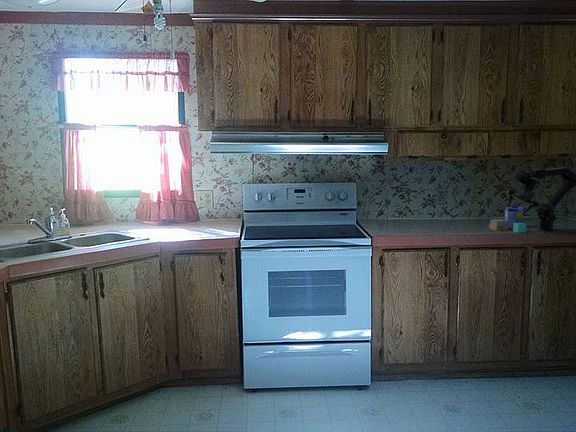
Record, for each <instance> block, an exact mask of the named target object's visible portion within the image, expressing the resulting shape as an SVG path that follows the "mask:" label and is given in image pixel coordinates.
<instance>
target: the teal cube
mask: <svg viewBox="0 0 576 432" xmlns="http://www.w3.org/2000/svg"><path fill="white" fill-rule="evenodd" d="M512 232H515V233H517V232H518V234H519V232H523V233H527V224H526V223H524V222H523V223H513V227H512Z"/></svg>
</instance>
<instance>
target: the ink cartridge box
mask: <svg viewBox="0 0 576 432" xmlns="http://www.w3.org/2000/svg"><path fill="white" fill-rule="evenodd" d="M507 207H508V206H505V213H504V220H506V221H508V223H507V226H508V228H513V223H524V215H523V213H524V211H525V208H524V207H522V206H519V204H517V203H516V204H515V203H513V204H512V205H511V206H509V207H508V208H507Z"/></svg>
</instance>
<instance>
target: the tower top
mask: <svg viewBox="0 0 576 432" xmlns="http://www.w3.org/2000/svg"><path fill="white" fill-rule="evenodd" d="M507 223H508V221H506V220H505V219H500V218H499V219H498V218H495V219H490V223H489V224H491V225H494V226H507Z"/></svg>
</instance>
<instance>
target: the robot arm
mask: <svg viewBox="0 0 576 432" xmlns="http://www.w3.org/2000/svg"><path fill="white" fill-rule="evenodd" d="M559 175H560V176H561V178H562V185H561V186H560V187H559V188H558V190H557V191H556V192H555V193H554V194H553V195H552V197H550V199H549V200H548V201H547V202H546V203H543V202H541V204H540V202H538V201H537V200H533V199H534V197H535V196H536V193H535V192H533V191H534V190H535V188H536V186H541V183H540V180H542V179H546V178H547V177H549V176H552V177H553V176H559ZM514 180H515V181H517V182H518V183H520V184H521V185H523V187H522V188H521V191H520V192H519V193H516V191H515V190H513V189H512V188H509V189H507V191H506V192H505V194H506V195H507V197H508V202H507V206H506V207H507V208H508V207H510V205H511V203H512V201H513V198H514V197H515V198H517V199H518V200H521V201H523V202H525V203H528V204H529V205H528V206H527V208H526V209H524V213H523V216H525V214H526V213H527V212H528V211H530V210H531V209H537V210H536V214H537V216H538V220H540V222H539V227H538V230H541V231H545V232H546V231H548V232H549V231H555V229H554V221H556V220H557V216H556V215H555V211H556V210H555V209H556V207H557V205H558V204H559V203H560V202H561V201H562V199H564V197H565V196H566V195H567V194H568V192H569V191H570V190H572V189H574V188H575V187H576V173H575V172H574V171H572V170H571V169H570V168H568V167H563V166H561V167H556V168H546V169H542V168H541V169H540V168H531V170H530V171H529V172H526V171H525V170H524V169H521V170H520V171H518V172H517V173H516V174H515V175H514ZM530 198H531V199H532V200H531V199H530Z"/></svg>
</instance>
